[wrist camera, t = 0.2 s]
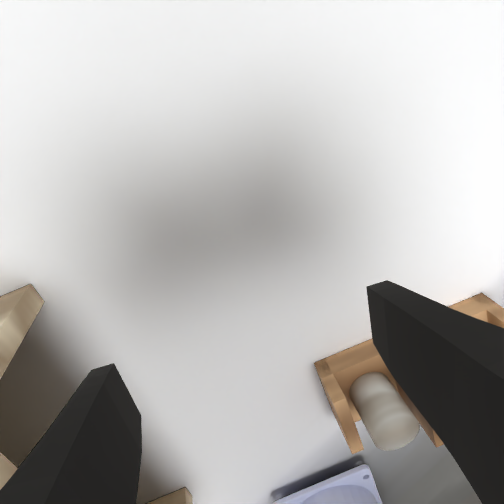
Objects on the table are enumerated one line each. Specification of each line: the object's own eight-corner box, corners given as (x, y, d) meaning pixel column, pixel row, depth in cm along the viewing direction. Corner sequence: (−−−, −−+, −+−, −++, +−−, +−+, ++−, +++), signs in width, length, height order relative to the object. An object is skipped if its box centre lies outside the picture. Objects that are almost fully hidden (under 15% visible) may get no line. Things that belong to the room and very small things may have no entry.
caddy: (486, 346, 28) (556, 408, 23) (332, 411, 28) (367, 487, 23) (481, 292, 26) (557, 347, 20) (313, 362, 25) (348, 435, 20)
